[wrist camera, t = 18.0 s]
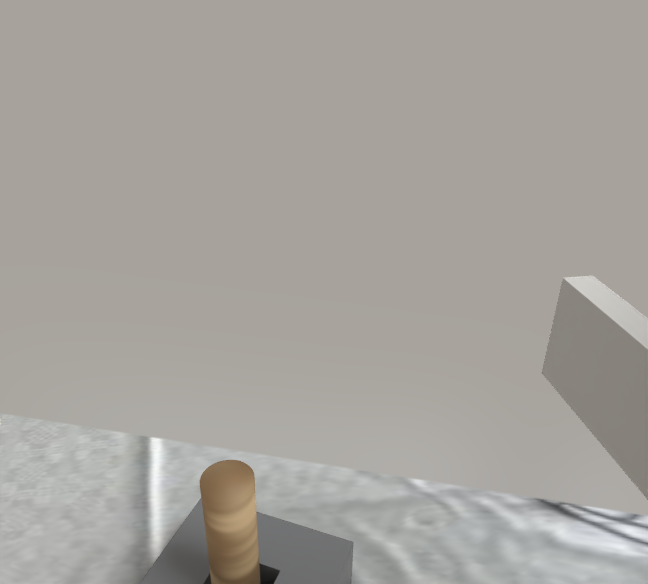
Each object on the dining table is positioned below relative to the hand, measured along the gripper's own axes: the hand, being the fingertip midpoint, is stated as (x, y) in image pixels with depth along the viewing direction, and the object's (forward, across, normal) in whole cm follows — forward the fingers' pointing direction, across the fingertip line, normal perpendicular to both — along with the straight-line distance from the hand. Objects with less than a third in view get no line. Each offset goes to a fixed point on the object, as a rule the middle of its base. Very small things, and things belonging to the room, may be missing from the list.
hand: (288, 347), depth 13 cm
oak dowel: (+18, -2, -37) cm, 41 cm away
